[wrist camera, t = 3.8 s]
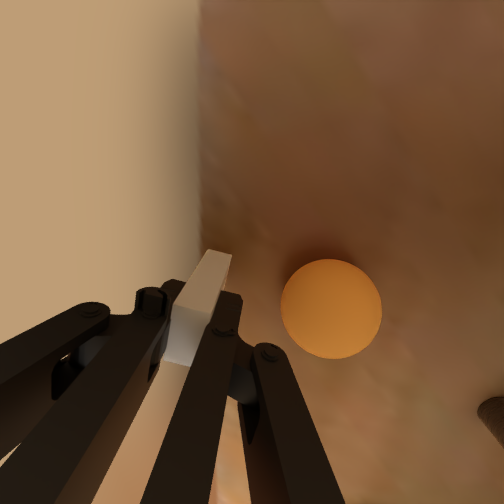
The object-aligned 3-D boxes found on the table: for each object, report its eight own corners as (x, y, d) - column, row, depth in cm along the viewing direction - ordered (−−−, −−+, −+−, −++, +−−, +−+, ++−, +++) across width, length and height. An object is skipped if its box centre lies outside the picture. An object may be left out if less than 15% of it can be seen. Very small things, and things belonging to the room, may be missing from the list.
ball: (376, 258, 18) (420, 302, 13) (345, 329, 20) (372, 393, 15) (292, 236, 18) (303, 272, 13) (269, 310, 20) (269, 367, 14)
